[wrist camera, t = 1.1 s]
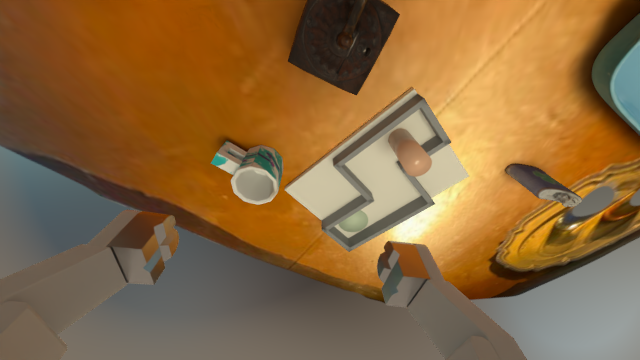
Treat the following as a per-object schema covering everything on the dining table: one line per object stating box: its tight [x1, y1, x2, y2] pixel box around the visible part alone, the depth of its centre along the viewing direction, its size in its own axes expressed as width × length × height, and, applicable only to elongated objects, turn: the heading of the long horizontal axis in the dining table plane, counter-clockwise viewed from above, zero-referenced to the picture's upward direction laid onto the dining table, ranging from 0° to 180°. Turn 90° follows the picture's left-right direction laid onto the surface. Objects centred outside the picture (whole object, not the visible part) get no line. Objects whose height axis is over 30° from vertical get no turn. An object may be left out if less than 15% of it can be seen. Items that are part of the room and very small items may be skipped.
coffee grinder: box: [288, 0, 400, 95], centre depth 27 cm, size 16×11×18 cm
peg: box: [388, 128, 432, 177], centre depth 39 cm, size 4×4×10 cm
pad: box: [339, 210, 368, 232], centre depth 55 cm, size 7×7×1 cm
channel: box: [285, 88, 469, 251], centre depth 48 cm, size 31×23×4 cm
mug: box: [212, 141, 283, 205], centre depth 43 cm, size 8×12×8 cm
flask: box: [505, 164, 582, 207], centre depth 45 cm, size 9×3×11 cm, turn 74°
